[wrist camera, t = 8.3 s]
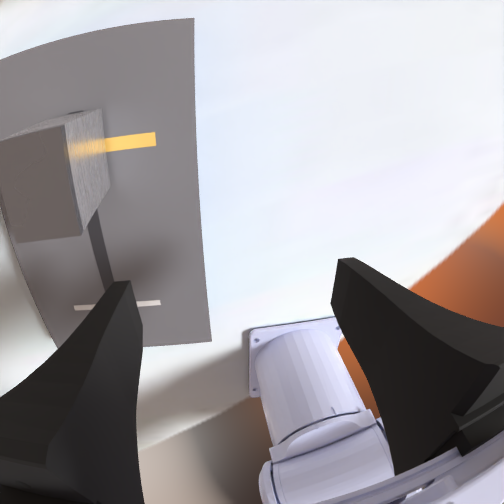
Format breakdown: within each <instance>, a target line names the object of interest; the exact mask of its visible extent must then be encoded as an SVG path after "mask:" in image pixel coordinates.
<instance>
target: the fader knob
mask: <svg viewBox="0 0 504 504" xmlns="http://www.w3.org/2000/svg"><path fill="white" fill-rule="evenodd" d="M110 186H111V185H110V179H109V172H108V165H107V157H106V149H105V141H104V131H103V121H102V110H101V109H95V110H90V111H85V112H80V113H75V114H70V115H65V116H61V117H56V118H52V119H48V120H45V121H43V122H40V123H38V124H35V125H33V126H31V127H28V128H26V129H24V130H21V131H19V132H17V133H15V134H13V135H10V136H8V137H6V138H4V139H2V140H0V187H1V191H2V195H3V199H4V203H5V207H6V211H7V214H8V218H9V221H10V224H11V228H12V231H13V234H14V237H15V240H16V243H17V244H18V243H26V242H33V241H41V240H49V239H58V238H66V237H75V236H81V235H82V233H83V231H84V230H85V228H86V226H87V224H88V223H89V221H90V219H91V217H92V216H93V214H94V212H95V211H96V209H97V207H98V206H99V204H100V202H101V201H102V199H103V198H104V196H105V194H106V193H107V191H108V190H109V188H110Z"/></svg>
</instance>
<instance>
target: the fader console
mask: <svg viewBox="0 0 504 504" xmlns="http://www.w3.org/2000/svg"><path fill="white" fill-rule="evenodd" d="M95 109H101V110H102V121H103V131H104V141H105V149H106V157H107V165H108V172H109V179H110V185H111V186H110V188H109V190H108V191H107V193H106V194H105V196H104V198H103V199H102V201H101V202H100V204H99V206H98V207H97V209H96V211H95V212H94V214H93V216H92V217H91V219H90V221H89V223H88V224H87V226H86V228H85V230H84V231H83V233H82V235H81V236H75V237H66V238H58V239H49V240H41V241H33V242H26V243H18V244H17V243H16V240H15V237H14V234H13V231H12V228H11V224H10V221H9V218H8V214H7V211H6V207H5V203H4V199H3V195H2V191H1V187H0V206H1V209H2V213H3V216H4V220H5V223H6V226H7V229H8V233H9V236H10V239H11V242H12V245H13V248H14V251H15V253H16V256H17V259H18V262H19V264H20V267H21V270H22V272H23V275H24V277H25V280H26V282H27V285H28V287H29V290H30V292H31V294H32V297H33V299H34V301H35V303H36V306H37V308H38V310H39V312H40V314H41V316H42V319H43V321H44V323H45V325H46V327H47V329H48V331H49V333H50V335H51V337H52V339H53V341H54V343H55V344H56V346H57V348H59V347H60V346H61V345H62V344H63V343H64V342H65V341H66V340H67V339H68V338H69V336H70V335H71V334H72V333H73V332H74V330H75V329H76V328H77V327H78V326H79V325H80V323H81V322H82V321H83V320H84V319H85V317H86V316H87V315H88V314H89V312H90V311H91V310H92V308H93V307H94V306H95V305H96V303H97V302H98V301H99V299H100V298H101V297H102V296H103V294H104V293H105V292H106V290H107V289H108V288H109V287H110V285H111V284H112V283H113V282H115V281H127V280H131V284H132V288H133V292H134V296H135V299H136V303H137V307H138V310H139V314H140V317H141V321H142V324H143V347H150V346H165V345H178V344H190V343H201V342H211V341H212V338H211V329H210V319H209V310H208V300H207V289H206V278H205V267H204V255H203V243H202V230H201V215H200V200H199V184H198V165H197V144H196V117H195V75H194V18H186V19H173V20H162V21H153V22H145V23H137V24H131V25H124V26H118V27H113V28H107V29H102V30H97V31H93V32H88V33H84V34H80V35H76V36H72V37H68V38H64V39H60V40H57V41H53V42H50V43H47V44H43V45H40V46H37V47H34V48H31V49H28V50H25V51H22V52H20V53H17V54H14V55H11V56H9V57H6V58H4V59H1V60H0V140H2V139H4V138H6V137H8V136H10V135H13V134H15V133H17V132H19V131H21V130H24V129H26V128H28V127H31V126H33V125H35V124H38V123H40V122H43V121H45V120H48V119H52V118H56V117H61V116H65V115H70V114H75V113H80V112H85V111H90V110H95Z"/></svg>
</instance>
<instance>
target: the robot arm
mask: <svg viewBox="0 0 504 504" xmlns="http://www.w3.org/2000/svg"><path fill="white" fill-rule="evenodd" d="M331 306H332V309H333V312H334V315H335V317H333V318H327V319H321V320H315V321H309V322H302V323H295V324H288V325H281V326H274V327H266V328H258V329H253V330H252V331H251V332H250V334H249V394H250V397H253V398H255V397H261V401H262V405H263V409H264V412H265V416H266V420H267V424H268V428H269V432H270V436H271V440H272V443H273V445H274V447H272V448H270V449H269V450H270V454H271V458H272V460H271V461H268V462H266V463H265V464H264V465H263V468H262V471H261V472H260V475H259V488H260V494H261V498H262V502H263V504H502V503H503V502H504V327H499V326H495V325H491V324H488V323H484V322H481V321H477V320H474V319H471V318H468V317H466V316H463V315H460V314H457V313H455V312H452V311H450V310H448V309H445V308H443V307H441V306H439V305H437V304H435V303H432V302H430V301H428V300H426V299H424V298H423V297H421V296H419V295H417V294H415V293H413V292H412V291H410V290H408V289H406V288H405V287H403V286H401V285H400V284H398V283H396V282H395V281H393V280H391V279H390V278H388V277H386V276H385V275H383V274H382V273H380V272H378V271H377V270H375V269H373V268H372V267H370V266H368V265H367V264H365V263H363V262H361V261H360V260H358V259H356V258H354V257H352V258H343V259H338V263H337V269H336V275H335V281H334V287H333V293H332V298H331ZM341 333H343V335H344V337H345V338H346V340H347V342H348V344H349V345H350V348H351V349H352V351H353V353H354V355H355V357H356V359H357V360H358V362H359V364H360V366H361V368H362V370H363V372H364V374H365V376H366V378H367V380H368V382H369V385H370V387H371V390H372V393H373V396H374V398H375V401H376V404H377V407H378V410H379V413H380V416H381V417H380V418H378V419H376V420H375V418H374V416H373V414H372V412H371V410H370V409H368V410H366V408H365V406H364V404H363V402H362V400H361V398H360V396H359V394H358V392H357V389H356V387H355V386H354V383H353V381H352V379H351V377H350V375H349V373H348V371H347V369H346V367H345V365H344V363H343V361H342V359H341V356H340V354H339V352H338V351H337V348H338V344H339V340H340V337H341ZM256 338H258V339H256ZM142 352H143V324H142V321H141V317H140V314H139V310H138V307H137V303H136V299H135V296H134V292H133V288H132V284H131V280H127V281H115V282H113V283H112V284H111V285H110V287H109V288H108V289H107V290H106V292H105V293H104V294H103V296H102V297H101V298H100V299H99V301H98V302H97V303H96V305H95V306H94V307H93V308H92V310H91V311H90V312H89V314H88V315H87V316H86V317H85V319H84V320H83V321H82V322H81V323H80V325H79V326H78V327H77V328H76V329H75V330H74V332H73V333H72V334H71V335H70V336H69V338H68V339H67V340H66V341H65V342H64V343H63V344H62V345H61V346H60V347H59V348H58V350H56V351H55V352H54V353H53V354H52V355H51V356H50V357H49V358H48V359H47V360H46V361H45V362H44V363H43V364H42V365H41V366H40V367H38V368H37V369H36V370H35V371H34V372H33V373H32V374H30V375H29V376H28V377H27V378H26V379H25V380H23V381H22V382H21V383H19V384H18V385H17V386H16V387H14V388H13V389H12V390H10V391H9V392H7V393H6V394H4V395H3V396H2V397H0V484H1V488H0V504H145V503H144V498H143V492H142V486H141V478H140V471H139V461H138V449H137V433H136V404H137V394H138V385H139V377H140V368H141V360H142ZM425 486H426V487H425ZM422 487H425V489H423V490H422V489H421V488H422Z"/></svg>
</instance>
